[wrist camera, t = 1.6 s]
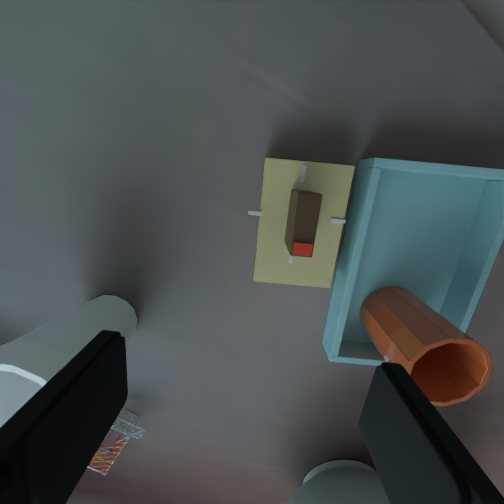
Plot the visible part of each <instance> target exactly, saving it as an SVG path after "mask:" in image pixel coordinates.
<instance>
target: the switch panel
mask: <svg viewBox="0 0 504 504" xmlns="http://www.w3.org/2000/svg"><path fill="white" fill-rule="evenodd" d="M354 169H355V166H352V165H341V164H331V163H320V162H309V161H298V160H288V159H277V158H265V163H264V173H263V184H262V194H261V204H260V212H258V211H249V213H248V215H258V216H259V224H258V235H257V245H256V255H255V265H254V281H260V282H271V283H282V284H292V285H303V286H314V287H325V288H330V287H331V282H332V277H333V272H334V267H335V262H336V257H337V253H338V248H339V243H340V238H341V233H342V228H343V223H344V224H345V222H346V220H344V218H345V213H346V208H347V203H348V198H349V193H350V188H351V183H352V178H353V174H354ZM291 189H295V190H306V191H312V192H316V193H319V194H322V195H323V196H322V202H321V208H320V213H319V219H318V225H317V231H316V237H315V243H314V249H313V254H312V257H311V258H310V257H299V256H290V254H289V251H288V249H287V246H286V244H285V241H284V240H285V232H286V225H287V217H288V210H289V202H290V195H291Z"/></svg>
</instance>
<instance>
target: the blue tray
mask: <svg viewBox="0 0 504 504" xmlns="http://www.w3.org/2000/svg"><path fill="white" fill-rule="evenodd" d="M503 240H504V169H495V168H484V167H473V166H463V165H452V164H441V163H430V162H420V161H409V160H398V159H387V158H377V157H375V158H369V159H363V160H360V161H359V166H358V171H357V176H356V181H355V185H354V190H353V195H352V200H351V205H350V210H349V215H348V219H347V224H346V229H345V234H344V239H343V244H342V248H341V253H340V258H339V263H338V268H337V273H336V277H335V282H334V287H333V292H332V297H331V302H330V307H329V311H328V316H327V321H326V326H325V331H324V336H323V340H322V343H323V345H324V348H325V351H326V353H327V356H328V358H329V361H330V362H341V363H352V364H363V365H374V366H380V365H381V363H382V362H386V361H385V359H384V358H383V356H382V355H381V353H380V352H379V351H378V349H377V348H376V346H375V345H374V343H373V342H372V340H371V339H370V337H369V336H368V335H367V333H366V332H365V330H364V327H363V326H362V324H361V322H360V318H359V312H360V308H361V305H362V303H363V301H364V300H365V299H366V298H367V296H369V295H370V294H371V293H372V292H374V291H376V290H378V289H380V288H383V287H387V286H397V287H402V288H404V289H407V290H408V291H410V292H411V293H412V294H414V295H415V296H416V297H418V298H419V299H420V300H422V301H423V302H424V303H426V304H427V305H428V306H430V307H431V308H432V309H434V310H435V311H436V312H438V313H439V314H440V315H442V316H443V317H444V318H445V319H447V320H448V321H449V322H451V323H452V324H453V325H455V326H456V327H457V328H459V329H460V330H461V331H463V332H464V333H466V330H467V328H468V325H469V323H470V320H471V318H472V315H473V313H474V311H475V308H476V306H477V303H478V301H479V298H480V296H481V293H482V291H483V289H484V286H485V284H486V281H487V279H488V276H489V274H490V271H491V269H492V266H493V264H494V262H495V259H496V257H497V254H498V252H499V249H500V247H501V244H502V242H503Z"/></svg>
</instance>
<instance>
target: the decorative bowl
mask: <svg viewBox="0 0 504 504" xmlns="http://www.w3.org/2000/svg"><path fill="white" fill-rule="evenodd" d="M286 504H390V503H389V500H388V498H387V495H386V493H385V490H384V488H383V485H382V483H381V480H380V478H379V475H378V473H377V472H376V471H375V470H374V469H373V468H372V467H370V466H368V465H367V464H364V463H362V462H359V461H354V460H334V461H329V462H326V463H323V464H321V465H319V466H317V467H315V468H314V469H312V470H311V471H310V472H309V473H308V474H307V475H306V477H305V478H304V481H303V484H302V485H301V486H300V487H299V488H298V489H297V490H296V491H295V492H294V493H293V495H292V496H291V497H290V498H289V500H288V501H287V503H286Z"/></svg>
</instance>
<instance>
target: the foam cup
mask: <svg viewBox="0 0 504 504" xmlns="http://www.w3.org/2000/svg"><path fill="white" fill-rule="evenodd" d="M137 321H138V319H137V316H136V313H135V310H134V309H133V308H132V306H131V305H130V304H129V303H128V302H127V301H125V300H123V299H121V298H119V297H117V296H112V295H102V296H100V297H97V298H94V299H93V300H90V301H88V302H86V303H84V304H82V305H81V306H79V307H77V308H75V309H73V310H71V311H69V312H67V313H65V314H63V315H61V316H59V317H57V318H55V319H54V320H52V321H50V322H48V323H46V324H44V325H42V326H40V327H38V328H36V329H34V330H32V331H30V332H28V333H27V334H25V335H23V336H21V337H19V338H17V339H15V340H13V341H11V342H8V343H6V344H3V345H0V427H1V426H2V425H3V424H4V423H6V422H7V421H8V420H9V419H10V418H11V417H12V416H13V415H14V414H15V413H16V412H17V411H18V410H19V409H20V408H21V407H22V406H23V405H24V404H25V403H26V402H27V401H28V400H29V399H30V398H31V397H32V396H33V395H35V394H36V393H37V392H38V391H39V390H40V389H41V388H42V387H43V386H44V385H45V384H46V383H47V382H48V381H49V380H50V379H51V378H52V377H53V376H54V375H55V374H56V373H57V372H58V371H60V370H61V369H62V368H63V367H64V366H65V365H66V364H67V363H68V362H69V361H70V360H71V359H72V358H73V357H74V356H76V355H77V354H78V353H79V352H80V351H81V350H82V349H83V348H84V347H85V346H86V345H87V344H88V343H89V342H90V341H91V340H92V339H93V338H94V337H95V336H96V335H97V334H98V333H99V332H100V331H102V330H109V331H118V332H120V333H121V336H124V337H125V345H126V346H127V344H128V343H129V341H130V339H131V337H132V335H133V334H134V331H135V329H136V326H137Z"/></svg>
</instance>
